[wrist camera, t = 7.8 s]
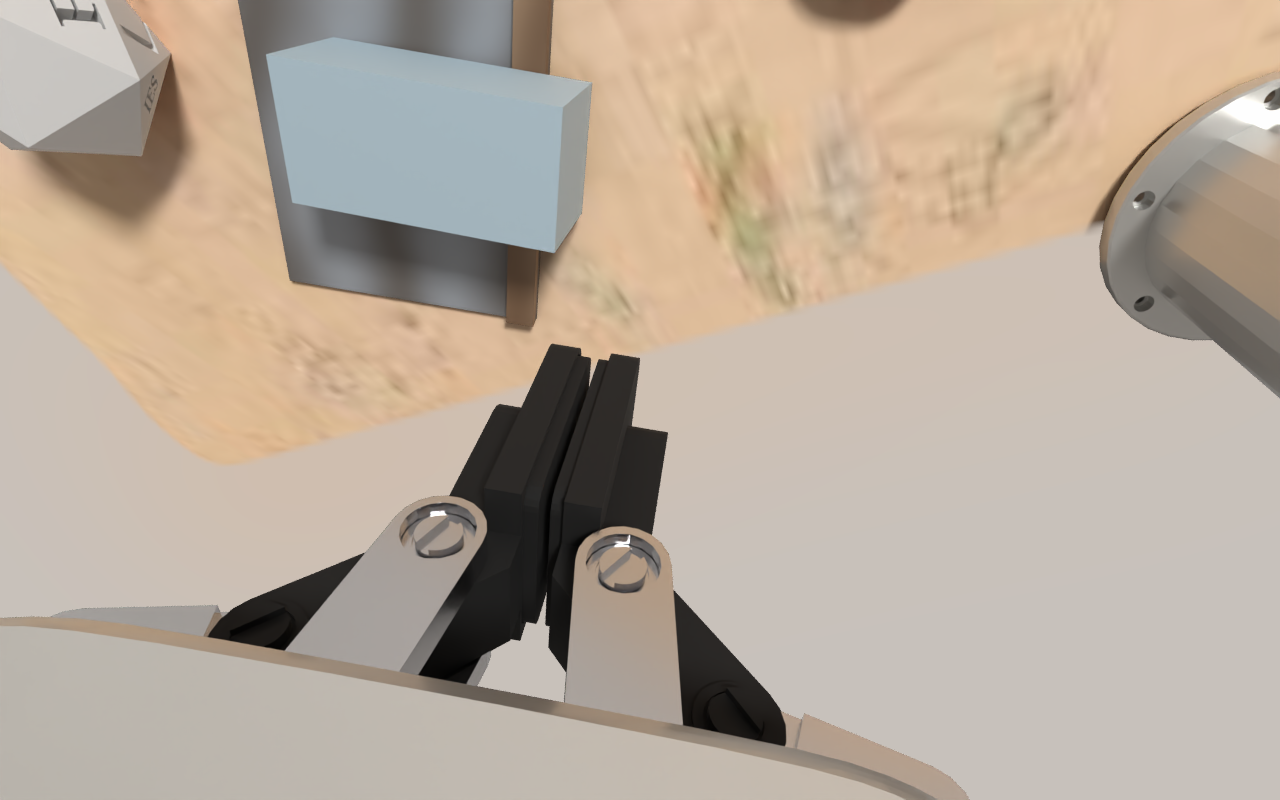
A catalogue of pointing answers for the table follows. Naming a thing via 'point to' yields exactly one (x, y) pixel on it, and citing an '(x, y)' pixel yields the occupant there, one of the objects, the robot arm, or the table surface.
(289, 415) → the table surface
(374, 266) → the mat
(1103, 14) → the table surface
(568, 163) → the tall block
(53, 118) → the die
